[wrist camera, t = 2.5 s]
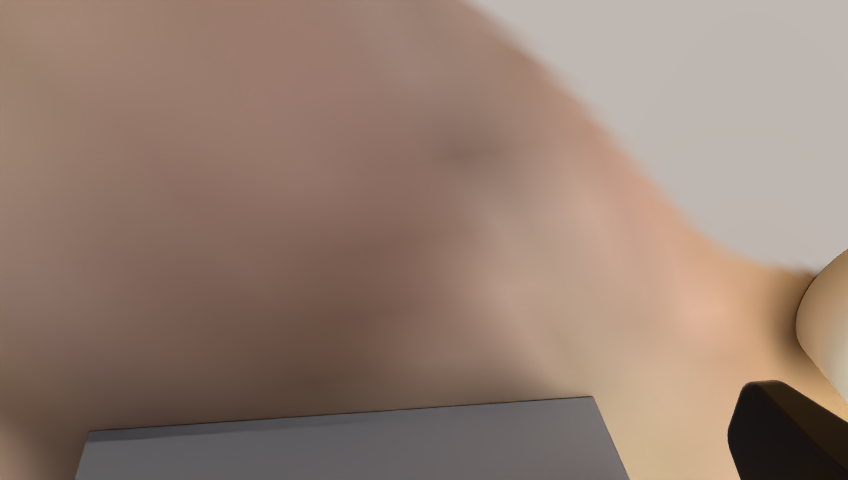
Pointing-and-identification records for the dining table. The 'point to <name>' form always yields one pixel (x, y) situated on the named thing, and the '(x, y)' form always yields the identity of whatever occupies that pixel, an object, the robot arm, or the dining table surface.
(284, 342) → the dining table surface
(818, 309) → the tape roll
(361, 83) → the dining table surface
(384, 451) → the carton
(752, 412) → the robot arm
